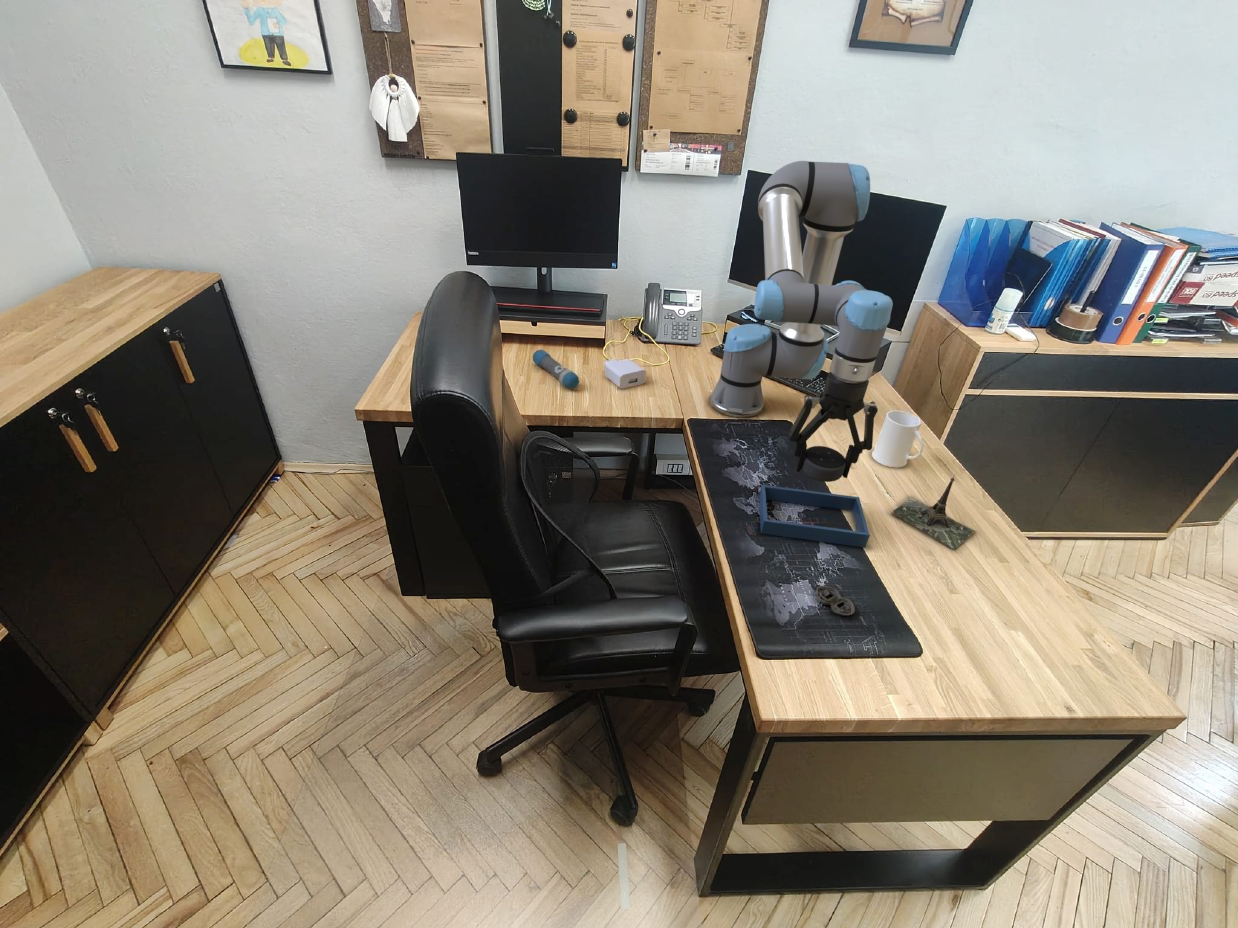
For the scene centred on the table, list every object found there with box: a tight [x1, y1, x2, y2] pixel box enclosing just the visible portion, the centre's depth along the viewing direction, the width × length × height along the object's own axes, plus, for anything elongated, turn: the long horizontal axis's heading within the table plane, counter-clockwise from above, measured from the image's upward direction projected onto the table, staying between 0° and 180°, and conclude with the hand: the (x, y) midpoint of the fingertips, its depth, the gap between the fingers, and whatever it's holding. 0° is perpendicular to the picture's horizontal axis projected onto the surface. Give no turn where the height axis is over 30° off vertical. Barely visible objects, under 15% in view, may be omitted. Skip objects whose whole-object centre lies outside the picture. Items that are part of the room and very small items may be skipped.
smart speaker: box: [801, 445, 846, 483], centre depth 125 cm, size 9×9×4 cm
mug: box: [871, 409, 925, 469], centre depth 148 cm, size 12×8×12 cm
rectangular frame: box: [758, 484, 871, 548], centre depth 129 cm, size 13×22×4 cm, turn 81°
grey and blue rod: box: [532, 349, 580, 390], centre depth 181 cm, size 5×22×5 cm, turn 35°
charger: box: [603, 358, 647, 389], centre depth 184 cm, size 5×9×15 cm
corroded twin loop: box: [815, 585, 856, 617], centre depth 110 cm, size 5×8×1 cm, turn 34°
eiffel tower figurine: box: [890, 474, 976, 551], centre depth 128 cm, size 15×10×13 cm
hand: (820, 470), depth 125 cm, fingers closed on smart speaker, 9 cm apart
